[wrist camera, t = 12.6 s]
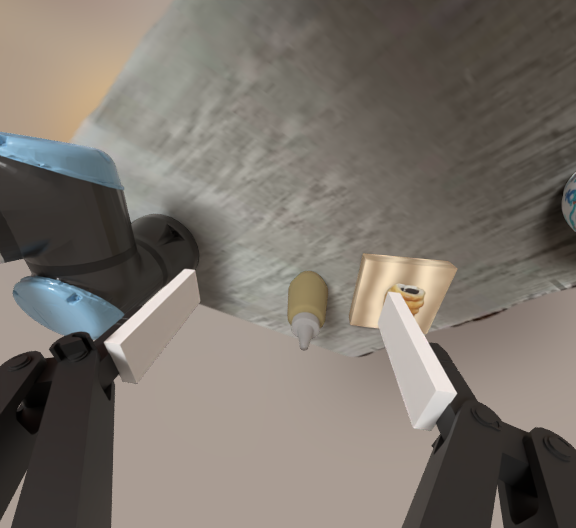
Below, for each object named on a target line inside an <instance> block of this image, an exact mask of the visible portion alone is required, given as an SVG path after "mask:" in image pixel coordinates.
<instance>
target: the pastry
mask: <svg viewBox="0 0 576 528" xmlns="http://www.w3.org/2000/svg"><path fill="white" fill-rule="evenodd" d="M388 292H396V293H400V294H401V295H402V297H403V299H404V301H405V303H406V304H407V306H408V308H409V310H410V311H411V313H412V315H413V317H414V316H415V314H417V313H418V312H419V308H420V307H422V306H423V305H424V295H425V291H424V290H423V289H420V288H419V287H416V286H410V285H407V286H406V285H404V284H395V285H394V286H392V287H391V288H389V289H388V290H387V292H386V294H385V297H384V302H385V299H386V296H387V293H388ZM384 302H383V305H384Z"/></svg>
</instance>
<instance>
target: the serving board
mask: <svg viewBox="0 0 576 528" xmlns="http://www.w3.org/2000/svg"><path fill="white" fill-rule="evenodd" d="M456 271H457V268H456V267H455V266H453V265H452V264H451V263H450V262H449V261H440V260H429V259H418V258H408V257H397V256H386V255H375V254H364V253H363V256H362V260H361V265H360V269H359V273H358V278H357V282H356V286H355V291H354V295H353V300H352V304H351V308H350V313H349V320H350V325H356V326H364V327H372V328H379V326H378V320H379V317H380V314H381V311H382V308H383V302H384V297H385V294H386V292H387V290H388V289H389V288H391V287H392V286H394V285H395V284H404V285H406V286H407V285H410V286H416V287H419V288H420V289H423V290H424V291H425V295H424V305H423V306H422V307H420V308H419V312H418V313H417V314H415V316H414V318H415V320H416V322H417V324H418V325H419V327H420V329H421V331H422V332H423V334H427V332H428V330H429V328H430V326H431V324H432V322H433V320H434V317H435V315H436V313H437V311H438V309H439V307H440V305H441V303H442V300H443V298H444V296H445V294H446V292H447V290H448V288H449V286H450V283H451V281H452V279H453V277H454V275H455V273H456Z"/></svg>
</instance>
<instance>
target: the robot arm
mask: <svg viewBox="0 0 576 528" xmlns="http://www.w3.org/2000/svg"><path fill="white" fill-rule="evenodd" d="M123 190H124V187H123V186H122V185H121V182H120V179H119V176H118V172H117V169H116V166H115V163H114V161H113V160H112V158H111V157H110V156H109V155H108V154H106V153H105V152H103V151H101V150H99V149H96V148H91V147H87V146H81V145H76V144H71V143H65V142H59V141H53V140H47V139H42V138H36V137H30V136H23V135H17V134H11V133H4V132H0V264H1V263H6V262H10V261H15V260H19V259H24V260H25V261H26V263H27V265H28V267H29V269H30V271H31V273H32V275H31V276H27V277H24V278H22V279H21V281H20V282H18V283H17V284H16V285H15V286H14V290H13V297H14V299H15V301H16V302H17V304H18V305H19V306H20V307H21V309H22V310H23V311H24V312H25V313H26V314H27V315H29V316H30V317H31V318H33V319H34V320H35V321H37V322H38V323H40V324H41V325H43V326H45V327H47V328H48V329H50V330H52V331H54V332H56V333H59V334H61V335H64V337H62V338H60V339H58V340H57V341H56V342H54V343H53V344H52V346H51V347H50V349H49V350H50V352H51V353H52V355H53V356H54V357H53V358H44V357H43V355H42V354H41V353H40V352H38V351H31V352H26V353H23V354H20V355H17V356H15V357H13V358H11V359H9V360H8V361H6V362H5V363H4V364H2V365H1V366H0V520H1V518H2V516H3V515H4V512H5V511H6V509H7V507H8V504H9V503H10V501H11V499H12V497H13V495H14V494H15V492H16V490H17V488H18V486H19V484H20V482H21V480H22V478H23V476H24V474H25V473H26V471H27V473H26V476H25V480H24V484H23V487H22V490H21V494H20V497H19V501H18V505H17V508H16V512H15V515H14V519H13V522H12V526H11V528H111V511H112V475H113V473H112V472H113V439H114V437H113V436H114V403H115V384H114V381H113V380H114V379H115V378H116V377H117V376H118V375H120V377H121V379H122V381H123V382H128V383H134V384H137V383H138V382H139V381H140V380H141V378H142V377H143V375H144V374H145V373H146V372H147V370H148V369H149V368H150V367H151V365H152V364H153V363H154V361H155V360H156V359H157V357H158V356H159V354H160V353H161V352H162V351H163V349H164V348H165V347H166V346H167V344H168V343H169V342H170V341H171V339H172V338H173V336H174V335H175V334H176V333H177V331H178V330H179V329H180V328H181V326H182V325H183V324H184V322H185V321H186V320H187V318H188V317H189V316H190V314H191V313H192V312H193V310H194V309H195V308H196V307H197V305H198V304H199V303H200V302H201V301H200V295H199V289H198V283H197V277H196V271H195V270H194V269H195V268H196V266H197V264H198V260H199V251H198V247H197V244H196V242H195V240H194V238H193V236H192V235H191V233H190V232H189V231H188V230H187V229H186V228H185V227H184V226H183V225H182V224H181V223H179V222H178V221H176V220H175V219H173V218H171V217H168V216H165V215H161V214H150V215H146V216H143V217H141V218H138V219H136V220H135V221H133V222H132V223H131V221H130V217H129V213H128V209H127V205H126V200H125V196H124V192H123ZM164 286H165V287H164ZM162 287H164V288H163V289H162V290H161V291H160V292H159V293H158V294H156V293H157V292H158V291H159V290H160V289H161V288H162ZM155 294H156V295H155ZM154 295H155V296H154ZM153 296H154V297H153ZM151 297H153V298H152V299H151V300H150V301H149V302H148V303H147V304H146V305H144V304H145V303H146V302H147V301H148V300H149V299H150V298H151ZM143 305H144V306H143ZM378 326H379V329H380V332H381V335H382V338H383V341H384V344H385V347H386V350H387V353H388V355H389V359H390V362H391V365H392V367H393V371H394V374H395V377H396V379H397V382H398V385H399V388H400V391H401V394H402V397H403V400H404V403H405V406H406V409H407V412H408V415H409V418H410V421H411V423H412V426H413V428H416V429H422V430H428V431H431V430H432V429H433V427H434V426H435V425H436V424H437V427H438V429H439V431H440V435H439V437H438V438H437V439H436V440H435V442H434V443H433V445H432V447H433V451H432V453H431V456H430V458H429V461H428V463H427V466H426V468H425V471H424V473H423V476H422V478H421V481H420V483H419V486H418V488H417V491H416V493H415V496H414V499H413V501H412V503H411V506H410V508H409V511H408V513H407V516H406V518H405V521H404V523H403V526H402V528H491V521H492V515H493V509H494V502H495V496H496V489H497V485H498V492H499V498H500V506H501V512H502V519H503V525H504V528H576V449H574V447H573V446H572V445H571V444H569V443H568V442H567V441H566V440H564V439H563V438H562V437H560V436H559V435H557V434H555V433H554V432H552V431H550V430H547V429H544V428H536V427H535V428H534V429H532V430H531V431H530V432H529V433H528V432H526V431H523V430H521V429H518V428H516V427H514V426H511V425H509V424H507V423H504V422H502V421H501V419H500V418H499V417H498V416H497V415H496V414H495V412H494V411H492V410H491V409H490V408H488V407H487V406H486V405H484V404H482V403H480V402H478V401H477V399H476V398H475V396H474V395H473V393H472V391H471V390H470V388H469V387H468V385H467V383H466V382H465V380H464V379H463V377H462V376H461V374H460V372H459V371H457V368H456V366H455V364H454V363H453V362H452V360H451V358H450V357H449V355H448V353H447V352H446V351H445V350H444V349H443V348H442V347H441V346H440V345H439V344H437V343H429V342H428V341H427V340H426V338H425V336H424V334H423V332H422V331H421V329H420V327H419V325H418V324H417V322H416V320H415V318H414V317H413V315H412V313H411V311H410V310H409V308H408V306H407V304H406V303H405V301H404V299H403V297H402V295H401V294H400V293H396V292H388V293H387V296H386V299H385V302H384V305H383V308H382V311H381V314H380V317H379V320H378ZM93 340H95V341H94V342H93ZM20 404H21V405H20ZM19 405H20V406H19ZM18 407H19V408H18Z"/></svg>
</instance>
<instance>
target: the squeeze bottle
mask: <svg viewBox="0 0 576 528" xmlns="http://www.w3.org/2000/svg"><path fill="white" fill-rule="evenodd" d="M327 298H328V288H327V286H326V284H325V282H324V281H323V279H322V278H321V277H320V276H319V275H318V274H317V273H315V272H312V271H304V272H302V273H300V274H299V275H298V276H297V277H296V278H295V279H294V280H293V281H292V282H291V283H290V286H289V291H288V321H289V323H290V325H291V330H292V332H293V334H294V335H295V336H297V337H298V339H299V344H300V349H301V350H307V349H308V346H309V343H310V340H311V339H313V338H315V337H316V336H317V335H318V334H319V332H320V328H321V327H322V326H323V324H324V322H325V316H326V307H327Z"/></svg>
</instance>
